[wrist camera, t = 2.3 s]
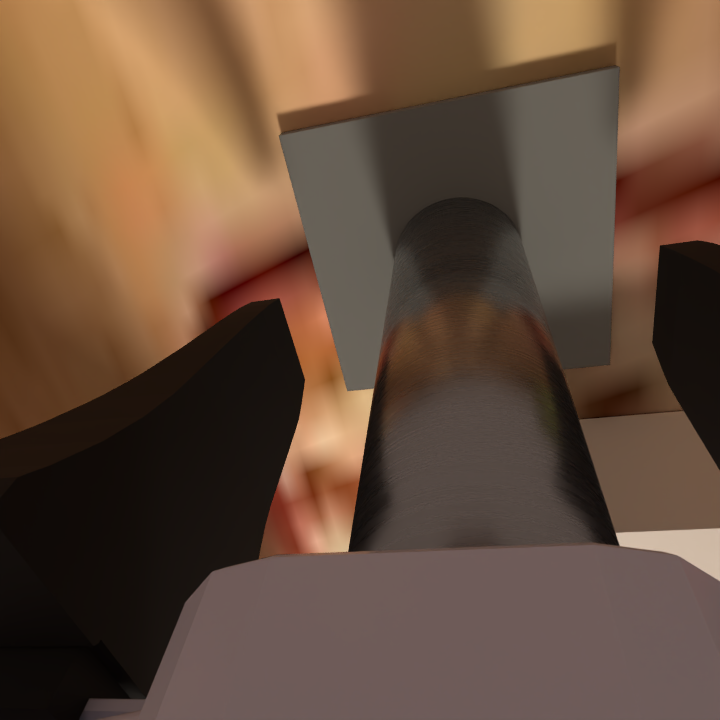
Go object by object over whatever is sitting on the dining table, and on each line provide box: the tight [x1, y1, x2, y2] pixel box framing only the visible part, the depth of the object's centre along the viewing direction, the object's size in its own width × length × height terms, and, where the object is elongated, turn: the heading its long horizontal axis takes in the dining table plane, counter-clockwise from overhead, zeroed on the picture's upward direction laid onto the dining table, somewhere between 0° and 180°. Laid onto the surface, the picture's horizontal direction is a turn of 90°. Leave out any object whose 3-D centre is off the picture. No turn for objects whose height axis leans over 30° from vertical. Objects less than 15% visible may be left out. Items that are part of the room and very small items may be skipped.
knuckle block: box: [579, 411, 720, 581], centre depth 17 cm, size 12×10×4 cm
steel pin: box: [348, 197, 620, 552], centre depth 9 cm, size 3×3×10 cm
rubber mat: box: [279, 65, 620, 391], centre depth 14 cm, size 7×7×1 cm
